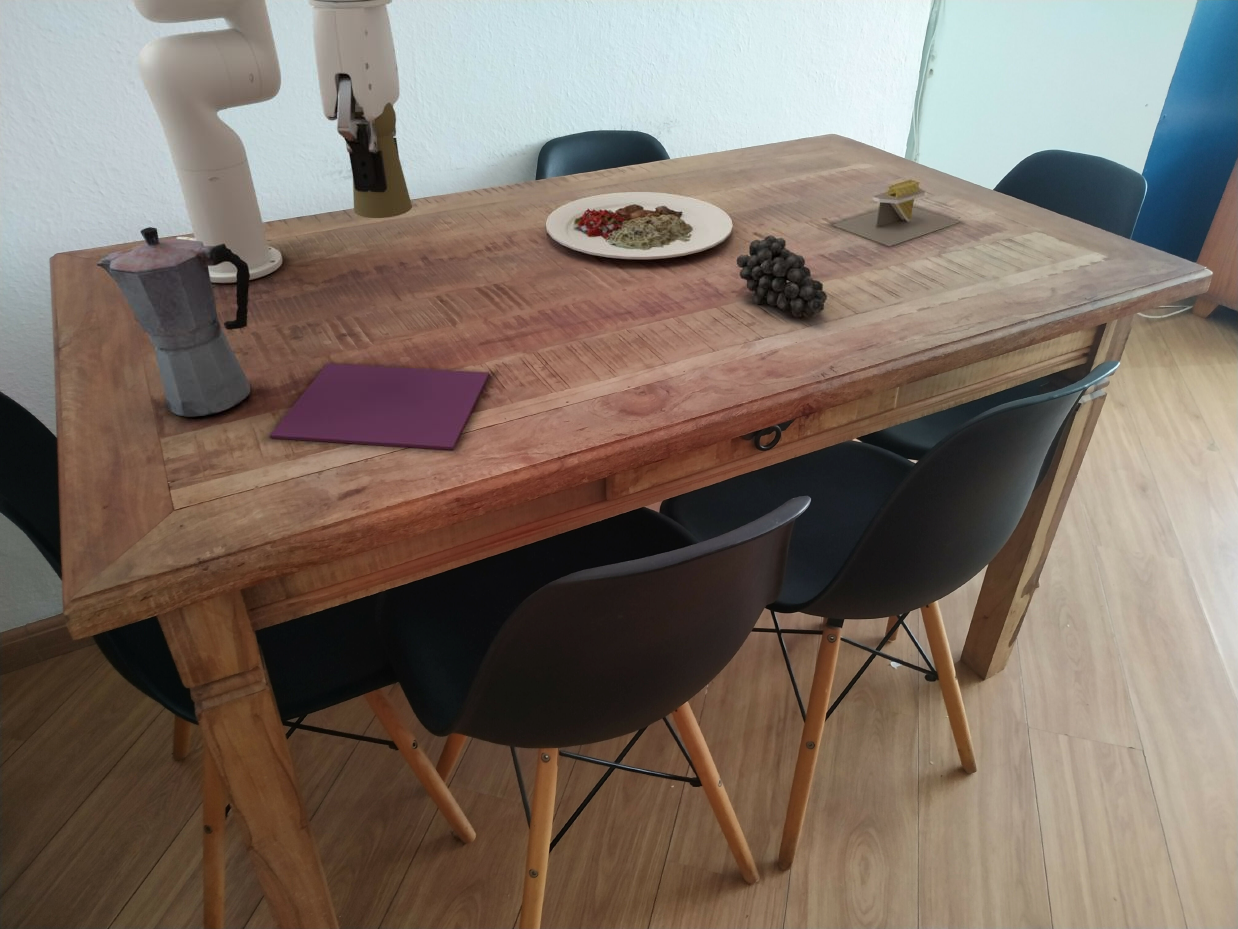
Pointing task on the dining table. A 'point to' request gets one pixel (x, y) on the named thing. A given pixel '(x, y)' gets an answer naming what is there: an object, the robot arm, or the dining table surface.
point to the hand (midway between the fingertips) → (378, 181)
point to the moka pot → (185, 319)
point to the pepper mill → (396, 193)
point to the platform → (896, 217)
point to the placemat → (384, 406)
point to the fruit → (781, 278)
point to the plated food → (639, 225)
